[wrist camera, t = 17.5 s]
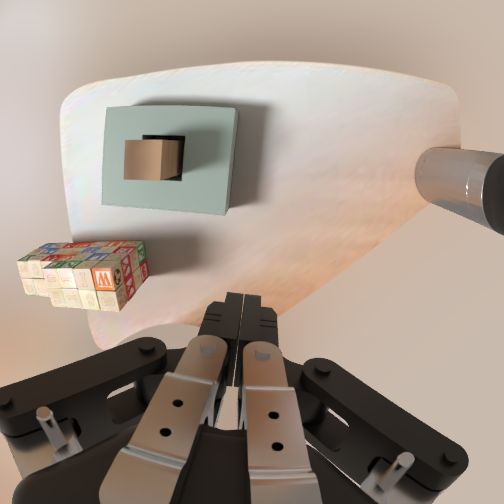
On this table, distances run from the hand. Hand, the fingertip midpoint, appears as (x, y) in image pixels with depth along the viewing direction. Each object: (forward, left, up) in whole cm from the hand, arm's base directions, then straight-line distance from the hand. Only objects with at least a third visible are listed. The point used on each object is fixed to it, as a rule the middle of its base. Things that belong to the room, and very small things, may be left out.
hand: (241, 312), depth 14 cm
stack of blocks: (+27, +13, -32) cm, 44 cm away
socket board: (+13, -5, -32) cm, 35 cm away
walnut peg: (+13, -5, -32) cm, 35 cm away
